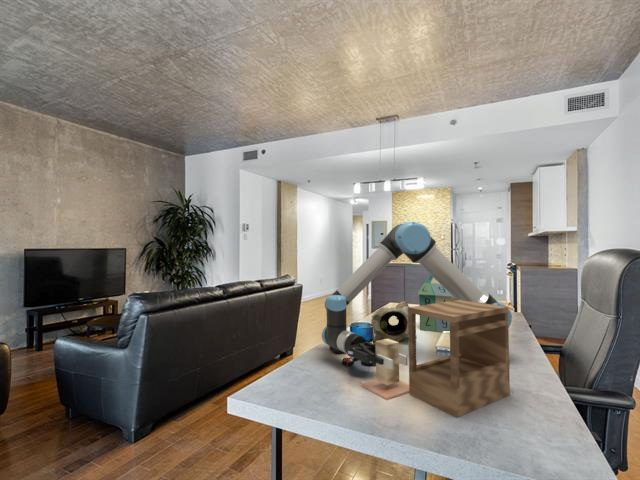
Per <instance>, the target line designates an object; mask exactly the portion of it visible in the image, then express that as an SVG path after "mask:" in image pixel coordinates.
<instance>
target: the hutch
mask: <svg viewBox="0 0 640 480" xmlns="http://www.w3.org/2000/svg"><path fill="white" fill-rule="evenodd" d="M506 306H507V305H506ZM506 306H499V305H492V304H485V303H479V302H472V301H465V300H455V301H448V302H442V303H435V304H428V305H421V306H420V305H414V306H409V307H408V334H409V336H408V370H409V371H408V378H409V379H408V381H409V382H408V383H409V384H408V385H409V393H408V394H409V396H411V397H413V398H415V399H418V400H420V401H422V402H424V403H425V404H428V405H430V406H432V407H434V408H436V409H438V410H440V411H441V412H444V413H447V414H448V415H450V416H452V417H455V418H459V417H461V416H463V415H465V414H468V413H471V412H472V411H475V410H478V409H480V408H483V407H485V406H487V405H489V404H491V403H494V402H496V401H500V400H501V399H503V398H506V397H508V396H511V395H510V394H511V390H510V389H511V388H510V342H509V341H510V337H509V335H510V334H509V333H510V331H509V328H508V308H509V307H508V306H507V307H506ZM416 315H418V316H420V315H422V316H426V317H431V318H435V319H440V320H445V321H449V322H450V334H449V354H450V355H449V356H445V357H442V358H438V359H435V360H430V361H427V362H423V363H420V364H417V321H416V320H417V317H416Z"/></svg>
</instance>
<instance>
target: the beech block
mask: <svg viewBox="0 0 640 480" xmlns="http://www.w3.org/2000/svg"><path fill="white" fill-rule="evenodd" d="M377 340H378V341H375V340H374V341H375V343H376V356H377V354H380V355H382V356H385V357H387V358H390V359H392V360H393V366H394V369H393V370H391V369H389V368H386V367H384V366H382V365H380V364H377V363H376V366H375V379H376V380H377V381H379V382H381V383H383V384H385V385H390V384H394V383H397V382H399V380H400V363H399V353H400V341H393V340H390V339H383V338H382V339H377Z"/></svg>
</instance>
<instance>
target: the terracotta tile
mask: <svg viewBox="0 0 640 480" xmlns="http://www.w3.org/2000/svg"><path fill="white" fill-rule="evenodd" d="M359 386H361V387H362V388H365V389H366V390H368V391H369V392H371V393H373V394H375V395H376V396H379V397H380V398H382V399H384V400H386V401H388V400H391V399H394V398H397V397H400V396H403V395H406V394H409V384H408V383H406V382H404V381H402V380H400V379H399V382H397V383H394V384H390V385H385V384H383V383H381V382H379V381H377V380H376V378H375V379H372V380H368V381H365V382H361V383H360V385H359Z"/></svg>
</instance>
